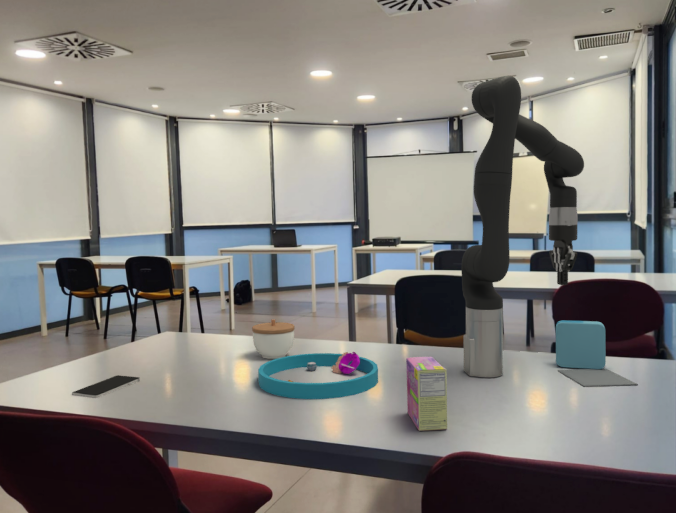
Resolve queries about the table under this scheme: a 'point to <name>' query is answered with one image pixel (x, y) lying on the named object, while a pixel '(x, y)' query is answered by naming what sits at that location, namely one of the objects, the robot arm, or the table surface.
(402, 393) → the table surface
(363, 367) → the teal ring
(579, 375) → the slate mat
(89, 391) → the smartphone
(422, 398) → the box
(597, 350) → the teal rounded block
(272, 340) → the lidded bowl
